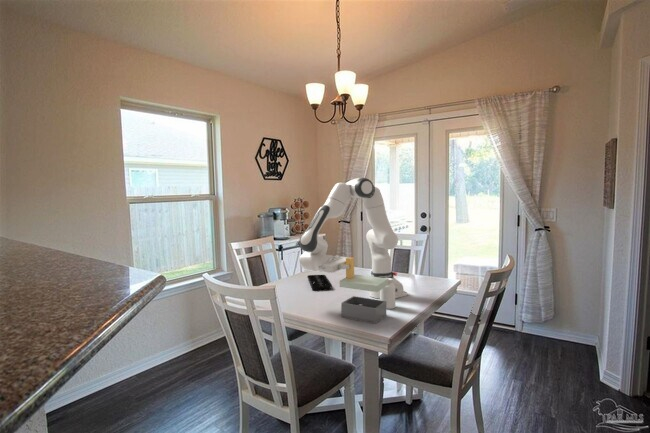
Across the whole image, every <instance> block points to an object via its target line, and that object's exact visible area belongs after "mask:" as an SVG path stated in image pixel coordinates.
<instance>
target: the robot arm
mask: <svg viewBox="0 0 650 433" xmlns="http://www.w3.org/2000/svg"><path fill="white" fill-rule="evenodd" d="M360 198H361V200H362V201H363V204H364V209H365V213H366V219H367V222H368V223H369V225H370V226H371V229H368V231H367V232H366V234H365V238H366V241H367V243H368V247H369V250H370V257H371V272H370V276H371V277H380V278H392V279H393V283H392V284H394V285H395V299H398V298H403V297H407V296H408V294H409V293H408V292H407V291H405V290H404V285H403V283H402V282H400V281H399V280H398V279H397V278H395V277H397V275H398V273H397V272H395V271H392V258H391V256H390V253H389V251H388V250H392V249H395V248H396V246H397V245H398V243H399V237H398V235H397V233H395V232H394V230H393V227H392V226H391V224H390V222H389V218H388V216H387V211H386V207H385V201H384V198H383V195H382V192H381V190H380V189H379V188H378V187H377V186H374V184H373V182H372V181H371V180H370V179H369V178H366V177H357V178H354V179H353V178H352V179H348V180H346V181H345V182H337V183H336V184H334V185H333V187H332V189H331V190H330V193H329V194H328V196H327V198H326V200H325V203H324V204H323V205H322V206H320V207H319V208H318V209H317V211H316V212H315V214H314V216H313V218H312V220H311V222H310V223H309V225H308V227H307V228H306V229H305V230H304V231H303V233H301V236H300V237H299V240H298V241H299V242H298V243H299V245H298V246H299V247H300V249H301V251H304V252H303V253H302V254H301V255H300V256H299V264H300V267H302V269H304V270H308V271H313V272H316V271H319V272H323V273H329V274H330V273H332V274H333V273H336V272H339V271H341V270H346V269H349V268H350V265H346V258H348V257H347V256H340V255H338V254H332V255H331V254H327V252H328V249H329V243H328V241H327V240H326V239H324V238H323V237H320V236H319V232H320V231H321V229H322V227H323V226H324V224H325V222H326V221H327V220H329V219H337V218H339V217H341V216H342V215H343V214H344V211H345V210H346V207H347V206H348V202H349V201H350V199H360ZM368 295H369V297H372V298H373V299H374V298H375V299H378V300H380V291H378V292H372V291H369V294H368Z"/></svg>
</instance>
